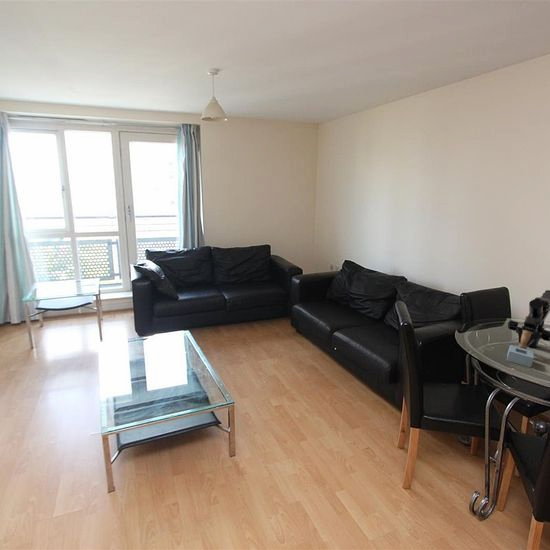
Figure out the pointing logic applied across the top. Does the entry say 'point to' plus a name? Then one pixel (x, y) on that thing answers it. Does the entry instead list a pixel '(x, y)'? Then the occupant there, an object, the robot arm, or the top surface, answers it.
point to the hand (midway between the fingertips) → (523, 343)
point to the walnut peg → (525, 339)
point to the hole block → (520, 356)
